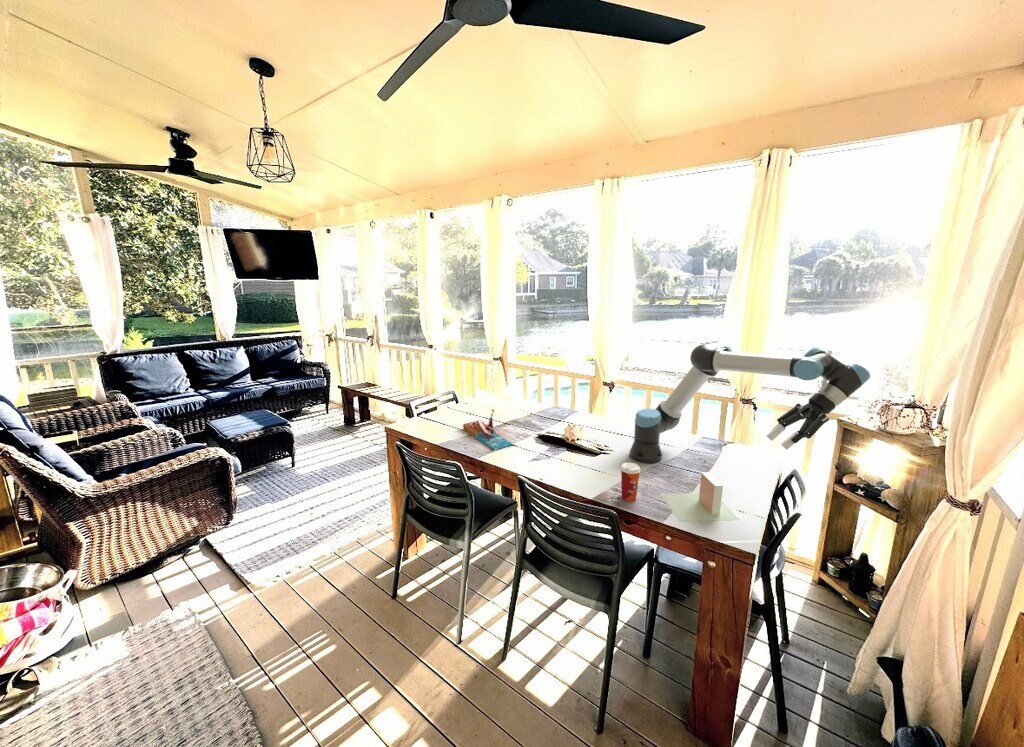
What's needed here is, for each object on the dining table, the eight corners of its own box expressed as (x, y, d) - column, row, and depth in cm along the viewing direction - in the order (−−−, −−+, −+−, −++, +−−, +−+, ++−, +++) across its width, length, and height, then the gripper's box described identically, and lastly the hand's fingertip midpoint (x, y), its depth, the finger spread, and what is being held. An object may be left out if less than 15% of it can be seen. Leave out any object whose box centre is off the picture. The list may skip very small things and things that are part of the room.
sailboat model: (494, 451, 208) (494, 420, 205) (463, 431, 239) (462, 403, 235) (513, 447, 214) (513, 416, 211) (480, 427, 245) (480, 400, 242)
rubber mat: (659, 495, 162) (659, 493, 162) (712, 494, 163) (712, 492, 163) (679, 522, 144) (679, 521, 144) (739, 521, 144) (739, 519, 144)
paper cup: (633, 505, 155) (635, 472, 152) (615, 498, 160) (617, 466, 157) (642, 497, 161) (644, 465, 158) (624, 491, 166) (626, 460, 163)
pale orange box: (698, 500, 157) (700, 472, 155) (706, 500, 157) (709, 472, 155) (711, 514, 147) (714, 485, 145) (719, 514, 148) (723, 485, 145)
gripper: (856, 415, 134) (802, 461, 138) (811, 398, 154) (764, 438, 158) (844, 400, 133) (789, 447, 136) (799, 385, 153) (753, 426, 156)
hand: (776, 442), depth 147 cm, fingers open, 8 cm apart
